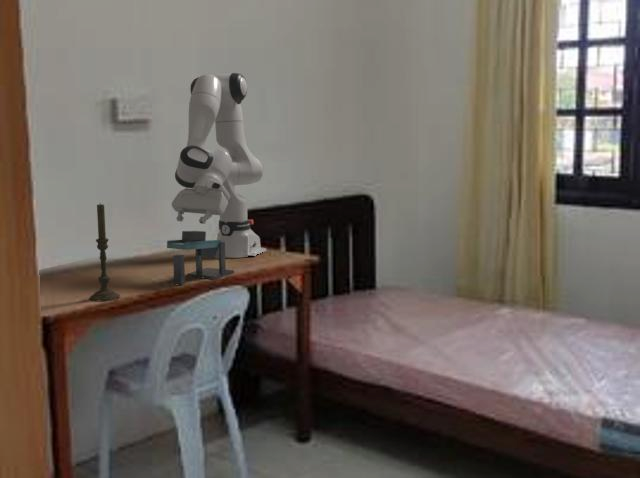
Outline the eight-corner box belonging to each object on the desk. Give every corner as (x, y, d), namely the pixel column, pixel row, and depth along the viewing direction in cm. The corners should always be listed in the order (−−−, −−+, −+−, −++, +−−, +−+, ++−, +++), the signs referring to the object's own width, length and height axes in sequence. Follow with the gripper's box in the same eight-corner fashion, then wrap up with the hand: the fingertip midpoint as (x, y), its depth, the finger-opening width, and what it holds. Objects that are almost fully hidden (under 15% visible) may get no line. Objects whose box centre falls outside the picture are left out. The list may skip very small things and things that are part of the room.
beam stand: (207, 270, 296) (206, 237, 294) (234, 273, 290) (233, 240, 289) (163, 283, 274) (162, 248, 272) (191, 286, 269) (190, 251, 267)
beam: (206, 255, 292) (206, 237, 292) (226, 257, 288) (226, 239, 288) (165, 259, 272) (166, 240, 271) (186, 262, 268) (187, 242, 267)
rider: (181, 242, 275) (195, 242, 282) (191, 243, 273) (205, 243, 280) (182, 231, 275) (196, 230, 282) (191, 231, 273) (205, 231, 280)
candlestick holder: (114, 293, 260) (110, 200, 255) (124, 298, 252) (119, 202, 247) (86, 297, 255) (81, 202, 250) (95, 302, 247) (90, 204, 243)
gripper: (178, 182, 284) (161, 213, 278) (226, 185, 275) (210, 218, 268) (186, 193, 289) (169, 224, 282) (234, 197, 280) (218, 229, 273)
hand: (190, 221), depth 275 cm, fingers open, 8 cm apart
